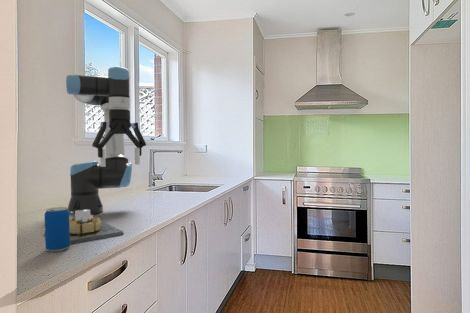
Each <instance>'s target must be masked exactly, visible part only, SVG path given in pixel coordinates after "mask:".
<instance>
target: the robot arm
mask: <svg viewBox="0 0 470 313" xmlns="http://www.w3.org/2000/svg"><path fill="white" fill-rule="evenodd" d="M107 70H108V71H107V76H101V75H100V76H98V75H97V76H95V75H94V76H93V75H82V74H81V75H79V74H68V75H66V78H65V79H66V80H65V84H66V88H65V89H66V93H67V94H68V95H73V97H74V98H75V99H76V100H77V101H78V102H80V103H83V104H85V105H90V106H100V110H101V111H102V112H103V114H104V115H103V117H104V118H103V119H104V121H101V122H100V126H99V127H100V128H99V129H98V132H97V134H96V136H95V138H94V140H93V142H92V144H91V146H92V148H96V149H97V158H100V160H99V161H100V163H99V162H98V160H92V161H90V160H89V161H83V162H79V163H77V162H76V163H73V164H71V166H70V169H69V171H70V174H69V176H70V198H69V202H68V205H67V207H66V208H67V210H68V211H69V212H71V211H74V212H75V211H77V210H83V209H89V210H90V215H96V214H100V213H102V212H104V205H103V204H102V201H101V197H100V195H99V190H100V189H104V190H105V189H117V188H118V189H122V188H127V187H129V186H130V184H131V179H132V171H133V170H132V169H133V168H132V167H133V166H132V164H133V163H132V162H129V158H128V157H127V156H126V154H125V140H124V139H125V137H124V136H125V135H126V136H127V137H128V138H129V139H130V141H131V142H132V143H133V145H134V146H135V147H134V165H137V166H140V165H141V160H140V159H141V158H140V157H142V154H143V153H142V148H144V147H146V146H147V143H146V141H145V139H144V136H143V134H142V132H141V130H140V128H139V123H138V122H132V123H131V111H130V109H131V108H130V107H131V106H130V105H131V103H130V102H131V100H130V99H131V96H130V78H131V77H130V71H129V69H128V68H126V67H122V66H112V67H109V68H108V69H107ZM131 129H132V130H133V131H132V130H131ZM133 132H134V134H135V135H134V134H133ZM103 136H104V137H103ZM135 136H136V137H135ZM104 147H105V148H104Z"/></svg>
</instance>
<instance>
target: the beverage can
mask: <svg viewBox="0 0 470 313" xmlns="http://www.w3.org/2000/svg"><path fill="white" fill-rule="evenodd" d="M67 208H68V207H64V206H63V207H62V206H61V207H60V206H57V207H51V208H47V209H45V213H44V239H45V244H44V245H45V250H46V251H48V252H51V253H56V252H57V253H58V252H63V251H66V250H68V248H69V247H70V246H71V244H70V224H69V211H68V210H67Z"/></svg>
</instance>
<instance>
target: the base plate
mask: <svg viewBox="0 0 470 313" xmlns="http://www.w3.org/2000/svg"><path fill="white" fill-rule="evenodd" d="M91 215H92V214H91ZM91 215H90V210H89V209H83V210H77V211H75V220H80V224H83V223H90V222H91ZM122 235H124V231H123V230H121V229H120V228H117V227H116V226H113V225H111V224H109V223H106V222H104V221H101V229H99V230H97V231H93V232H87V233H70V245H73V244H78V243H85V242H91V241H96V240H101V239H108V238H113V237H118V236H122Z"/></svg>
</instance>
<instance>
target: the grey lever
mask: <svg viewBox="0 0 470 313" xmlns="http://www.w3.org/2000/svg"><path fill="white" fill-rule="evenodd" d="M101 222H102V219H101V218H100V217H98V216H97V217H95V216H94V214H91V222H90V223H83V224H80V220H75V212H74V211H71V212H69V224H70V233H87V232H93V231H97V230H99V229H101Z"/></svg>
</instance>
